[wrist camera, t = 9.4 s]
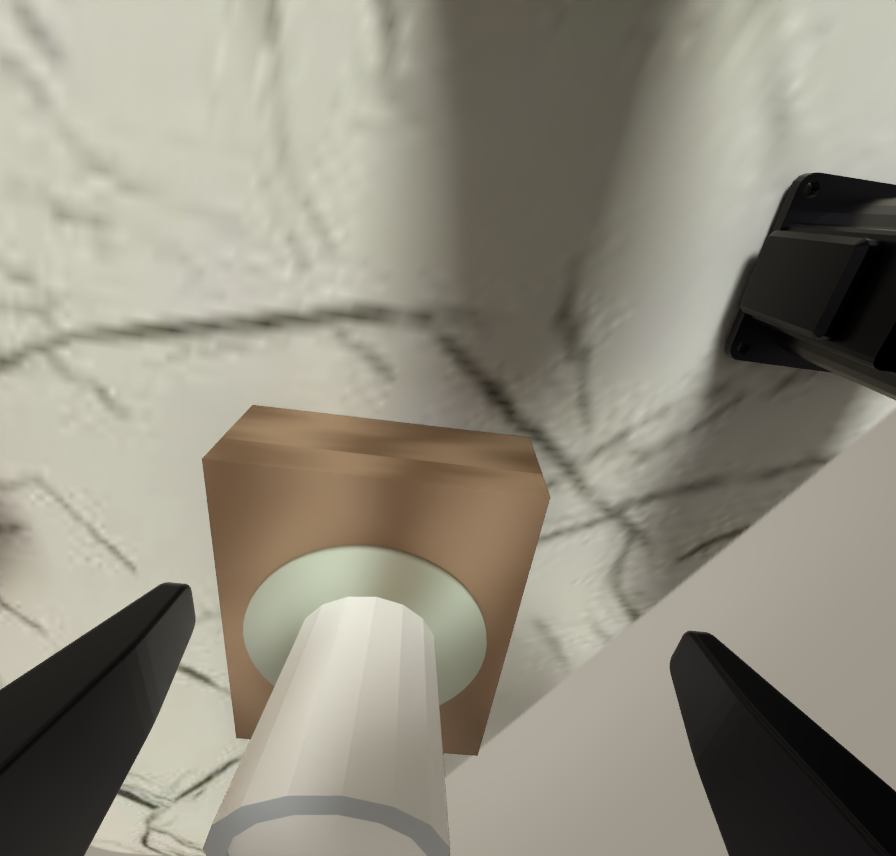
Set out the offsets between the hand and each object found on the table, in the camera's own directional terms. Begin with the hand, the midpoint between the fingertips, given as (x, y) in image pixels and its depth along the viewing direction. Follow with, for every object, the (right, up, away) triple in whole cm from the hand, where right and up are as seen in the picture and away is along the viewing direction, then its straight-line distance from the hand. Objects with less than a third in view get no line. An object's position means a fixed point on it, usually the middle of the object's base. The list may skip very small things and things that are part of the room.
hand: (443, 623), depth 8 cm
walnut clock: (-3, -3, +15) cm, 16 cm away
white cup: (-3, -5, +11) cm, 12 cm away
